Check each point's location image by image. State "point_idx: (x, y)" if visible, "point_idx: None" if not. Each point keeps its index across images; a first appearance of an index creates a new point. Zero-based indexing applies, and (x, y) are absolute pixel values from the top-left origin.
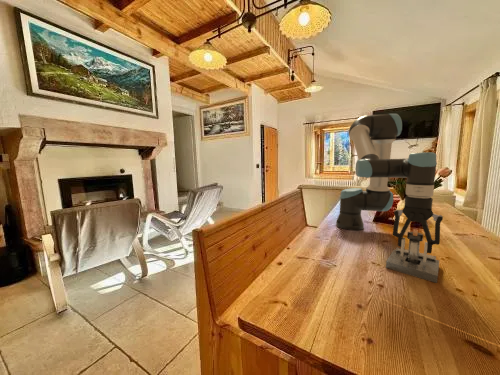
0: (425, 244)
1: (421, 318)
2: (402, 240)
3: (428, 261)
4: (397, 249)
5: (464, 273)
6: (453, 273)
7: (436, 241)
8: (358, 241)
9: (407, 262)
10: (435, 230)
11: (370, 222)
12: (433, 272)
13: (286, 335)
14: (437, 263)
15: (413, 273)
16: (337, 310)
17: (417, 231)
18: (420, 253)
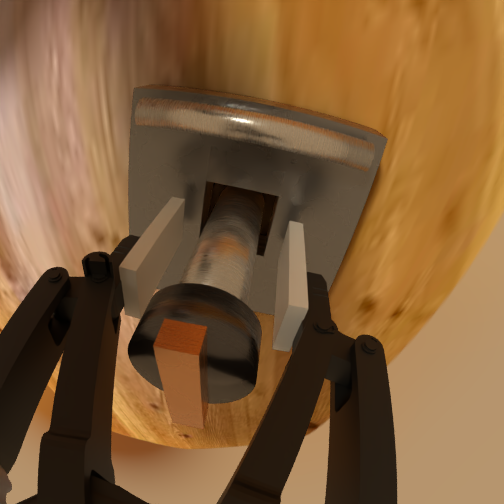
0: (277, 348)
1: (242, 410)
2: (132, 311)
3: (320, 185)
4: (146, 126)
5: (459, 154)
6: (416, 174)
7: (340, 389)
8: (9, 22)
9: None
10: (330, 476)
11: None
12: None
13: (123, 433)
14: (362, 192)
15: None
16: (136, 413)
17: (200, 401)
18: (284, 144)
